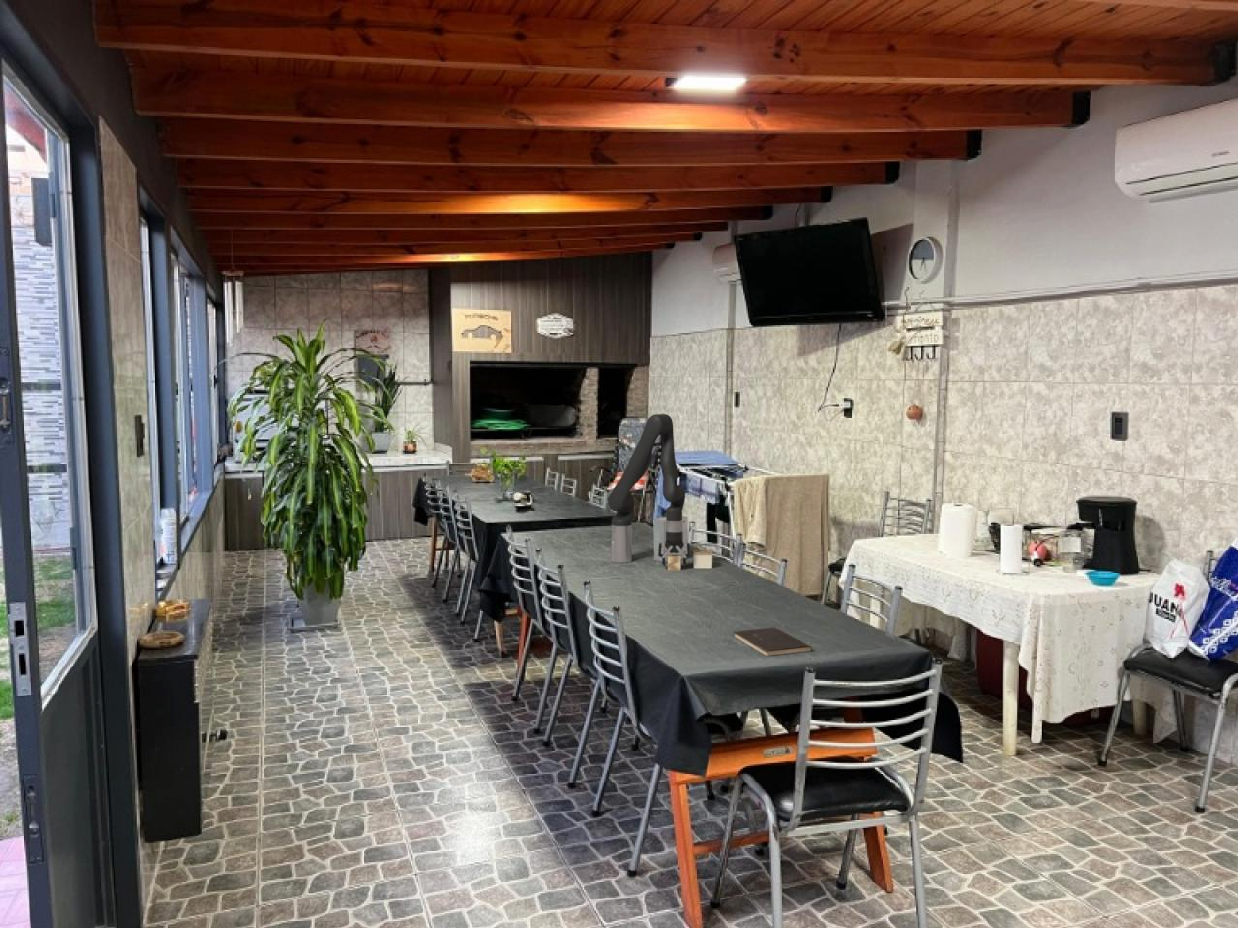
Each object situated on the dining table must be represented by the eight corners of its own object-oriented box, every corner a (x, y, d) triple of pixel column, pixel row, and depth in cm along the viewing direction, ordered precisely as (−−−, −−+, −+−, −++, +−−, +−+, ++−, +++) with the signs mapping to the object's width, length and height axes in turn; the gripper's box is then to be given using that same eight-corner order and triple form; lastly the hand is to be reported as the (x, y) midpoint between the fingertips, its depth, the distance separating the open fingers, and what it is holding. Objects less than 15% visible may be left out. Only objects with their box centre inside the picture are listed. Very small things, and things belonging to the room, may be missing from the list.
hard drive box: (677, 556, 445) (677, 514, 443) (688, 558, 439) (688, 516, 437) (653, 560, 435) (653, 518, 433) (664, 562, 429) (664, 520, 427)
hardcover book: (766, 657, 286) (766, 650, 286) (733, 638, 308) (733, 631, 308) (811, 652, 292) (811, 645, 291) (776, 633, 313) (776, 627, 313)
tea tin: (693, 568, 417) (693, 553, 416) (692, 564, 425) (692, 549, 424) (712, 568, 417) (712, 553, 416) (711, 564, 425) (711, 549, 424)
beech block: (667, 570, 413) (668, 557, 412) (667, 567, 418) (667, 554, 418) (680, 570, 412) (680, 557, 412) (679, 567, 418) (680, 554, 417)
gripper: (658, 531, 410) (658, 567, 412) (690, 531, 410) (690, 567, 411) (658, 528, 418) (658, 564, 419) (689, 528, 417) (689, 564, 419)
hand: (674, 565), depth 415 cm, fingers open, 8 cm apart
